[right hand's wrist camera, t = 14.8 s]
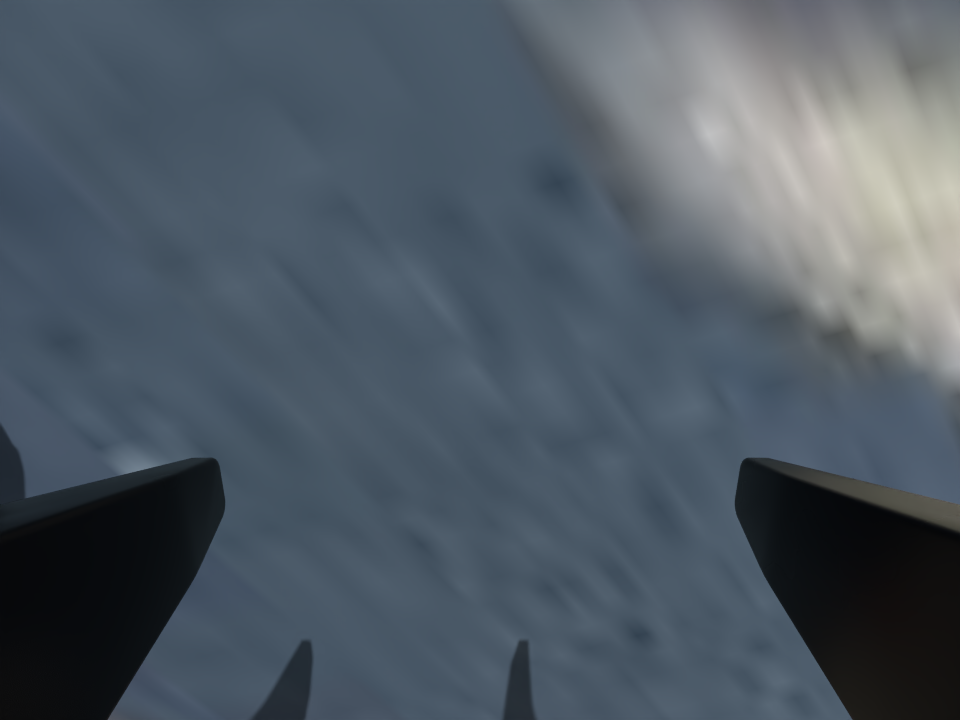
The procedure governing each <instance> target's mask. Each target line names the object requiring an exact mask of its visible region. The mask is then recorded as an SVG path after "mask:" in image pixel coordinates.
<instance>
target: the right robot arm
mask: <svg viewBox="0 0 960 720" xmlns="http://www.w3.org/2000/svg"><path fill="white" fill-rule="evenodd" d="M224 510H225V496H224V490H223V484H222V478H221V472H220V466H219V463H218V461H217V460H216V459H214V458H190V459H186V460H182V461H178V462H174V463H170V464H165V465H161V466H157V467H153V468H149V469H145V470H141V471H137V472H133V473H128V474H124V475H120V476H116V477H112V478H108V479H104V480H100V481H96V482H92V483H87V484H83V485H79V486H75V487H71V488H67V489H63V490H59V491H55V492H51V493H46V494H42V495H38V496H34V497H30V498H26V499H22V500H18V501H14V502H10V503H5V504H1V505H0V720H107V719H108V718H109V716H110V715H111V713H112V711H113V710H114V708H115V707H116V705H117V703H118V702H119V700H120V698H121V697H122V695H123V694H124V692H125V690H126V689H127V687H128V685H129V684H130V682H131V681H132V679H133V677H134V676H135V674H136V672H137V671H138V669H139V668H140V666H141V664H142V663H143V661H144V660H145V658H146V656H147V655H148V653H149V651H150V650H151V648H152V647H153V645H154V643H155V642H156V640H157V638H158V637H159V635H160V634H161V632H162V630H163V629H164V627H165V625H166V624H167V622H168V621H169V619H170V617H171V616H172V614H173V613H174V611H175V609H176V608H177V606H178V604H179V603H180V601H181V600H182V598H183V596H184V595H185V593H186V591H187V590H188V588H189V586H190V585H191V583H192V581H193V580H194V578H195V576H196V574H197V572H198V570H199V568H200V566H201V564H202V562H203V559H204V557H205V555H206V553H207V550H208V548H209V546H210V544H211V542H212V539H213V537H214V535H215V533H216V531H217V528H218V526H219V524H220V522H221V519H222V517H223V514H224ZM735 510H736V514H737V517H738V519H739V522H740V524H741V526H742V528H743V530H744V533H745V535H746V537H747V539H748V542H749V544H750V546H751V548H752V550H753V553H754V555H755V557H756V559H757V562H758V564H759V566H760V568H761V570H762V572H763V574H764V576H765V578H766V580H767V581H768V583H769V585H770V586H771V588H772V590H773V591H774V593H775V595H776V596H777V598H778V600H779V601H780V603H781V604H782V606H783V608H784V609H785V611H786V612H787V614H788V616H789V617H790V619H791V621H792V622H793V624H794V625H795V627H796V629H797V630H798V632H799V634H800V635H801V637H802V638H803V640H804V642H805V643H806V645H807V647H808V648H809V650H810V651H811V653H812V655H813V656H814V658H815V659H816V661H817V663H818V664H819V666H820V668H821V669H822V671H823V672H824V674H825V676H826V677H827V679H828V681H829V682H830V684H831V685H832V687H833V689H834V690H835V692H836V694H837V695H838V697H839V698H840V700H841V702H842V703H843V705H844V706H845V708H846V710H847V711H848V713H849V715H850V716H851V718H852V719H853V720H960V505H959V504H955V503H951V502H947V501H942V500H938V499H934V498H930V497H926V496H922V495H918V494H914V493H910V492H905V491H901V490H897V489H893V488H889V487H885V486H881V485H877V484H873V483H869V482H864V481H860V480H856V479H852V478H848V477H844V476H840V475H836V474H832V473H827V472H823V471H819V470H815V469H811V468H807V467H803V466H799V465H795V464H790V463H786V462H782V461H778V460H774V459H770V458H746V459H744V460H743V461H742V463H741V466H740V472H739V478H738V484H737V490H736V496H735Z"/></svg>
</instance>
